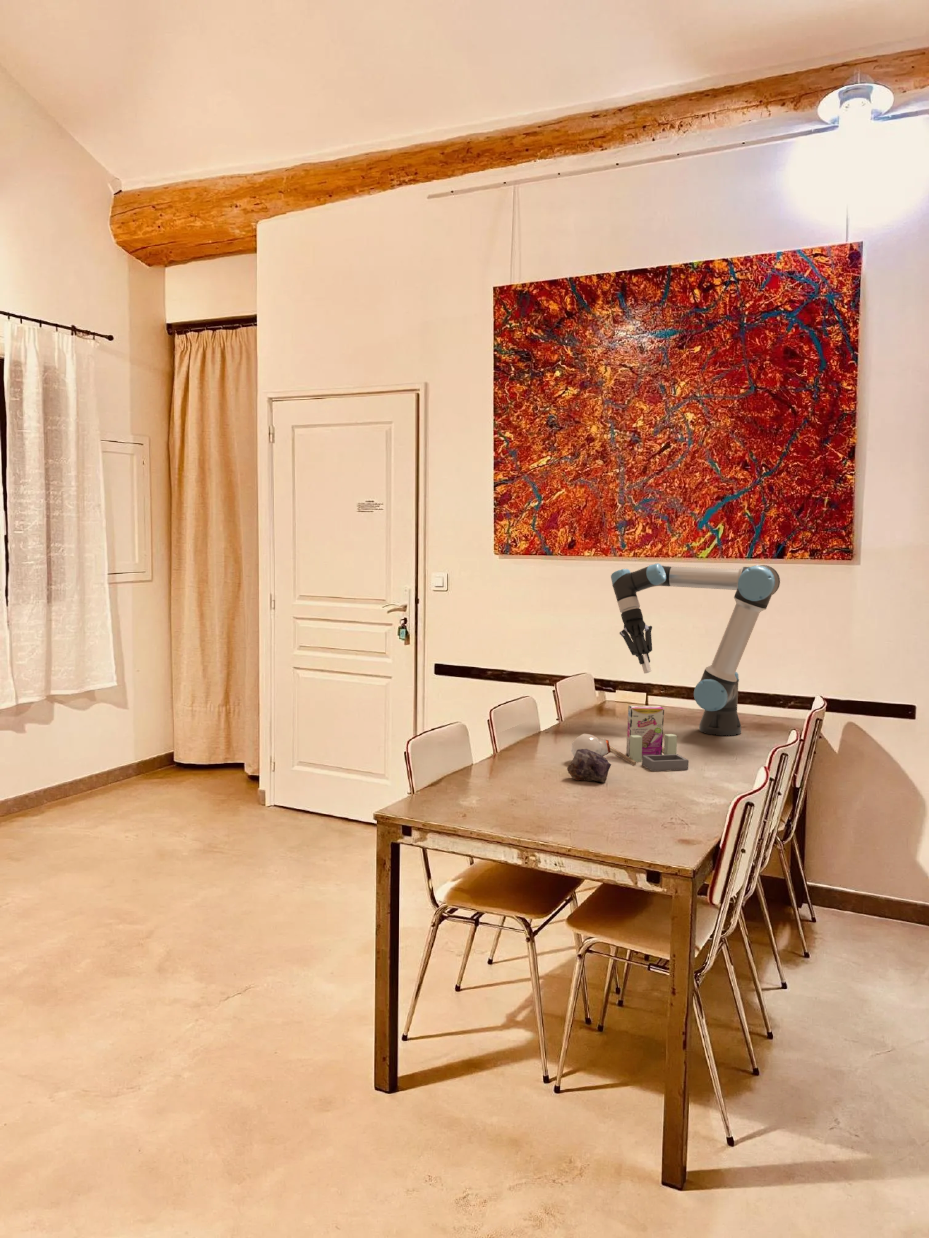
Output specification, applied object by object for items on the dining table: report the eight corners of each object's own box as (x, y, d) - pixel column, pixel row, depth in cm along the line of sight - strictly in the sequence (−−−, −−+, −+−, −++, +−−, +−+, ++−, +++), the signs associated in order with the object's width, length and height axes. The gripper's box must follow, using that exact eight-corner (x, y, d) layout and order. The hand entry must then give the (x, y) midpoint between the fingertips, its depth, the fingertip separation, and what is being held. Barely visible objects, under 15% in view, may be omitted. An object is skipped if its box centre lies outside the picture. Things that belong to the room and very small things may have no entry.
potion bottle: (573, 769, 304) (597, 766, 316) (596, 755, 300) (620, 753, 311) (560, 743, 308) (584, 741, 320) (583, 729, 303) (607, 727, 315)
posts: (672, 757, 316) (673, 733, 315) (676, 760, 313) (677, 735, 312) (629, 759, 313) (629, 735, 312) (632, 761, 310) (633, 737, 309)
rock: (600, 789, 281) (611, 781, 290) (605, 762, 279) (616, 754, 288) (563, 778, 286) (575, 770, 295) (568, 751, 284) (580, 743, 293)
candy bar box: (629, 757, 316) (630, 707, 315) (625, 753, 321) (627, 705, 320) (662, 757, 317) (664, 708, 315) (659, 753, 322) (660, 705, 320)
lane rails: (652, 744, 335) (652, 741, 335) (685, 762, 310) (685, 759, 309) (603, 746, 331) (603, 743, 331) (633, 765, 306) (633, 761, 306)
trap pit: (677, 763, 309) (677, 754, 309) (688, 769, 301) (688, 760, 301) (642, 764, 306) (642, 755, 306) (652, 771, 299) (652, 761, 298)
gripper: (640, 611, 361) (657, 672, 355) (610, 616, 356) (627, 677, 351) (650, 605, 354) (668, 667, 349) (619, 609, 349) (637, 672, 344)
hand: (647, 672), depth 350 cm, fingers closed
